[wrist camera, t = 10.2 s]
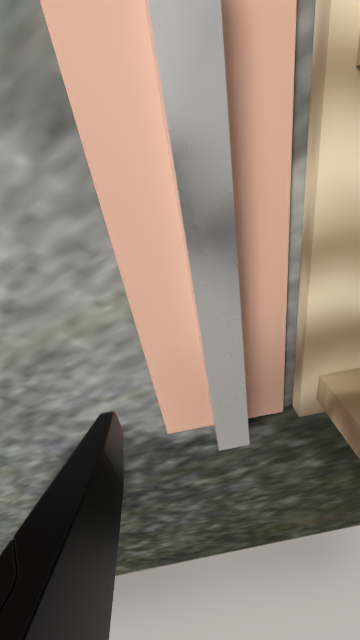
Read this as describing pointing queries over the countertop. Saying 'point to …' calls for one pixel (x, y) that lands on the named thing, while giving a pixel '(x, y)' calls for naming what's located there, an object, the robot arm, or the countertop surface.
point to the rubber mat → (159, 194)
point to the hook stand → (332, 228)
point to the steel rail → (204, 193)
